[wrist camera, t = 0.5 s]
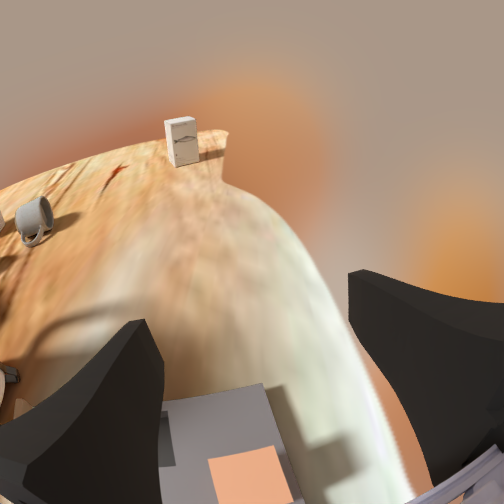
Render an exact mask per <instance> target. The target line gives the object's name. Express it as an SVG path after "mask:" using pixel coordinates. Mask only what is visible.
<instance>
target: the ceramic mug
mask: <svg viewBox="0 0 504 504" xmlns="http://www.w3.org/2000/svg"><path fill="white" fill-rule="evenodd" d="M53 224H54V218H53V212H52V209H51V206H50V203H49V201H48V200H47V198H46V197H44V196H41V197H39V198H37V199H35V200H33V201H31V202H29V203H27V204H24V205H22V206H21V207H20V208H18V209H17V211H16V213H15V225H16V228H17V230H18V232H19V234H20V235H21V240H22V242H23V244H24V245H25V246H27V247H33V246H35V245H37V244H38V243H39V242H40V240H41V239H42V236H43V233H44V232H45V231H48V230H51V229H52V227H53ZM35 234H38V235H37V236H36V238H35V239H34V240H33V241H32V242H29V243H28V242H27V243H26V242H25V237H30V236H33V235H35Z"/></svg>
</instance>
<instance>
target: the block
mask: <svg viewBox="0 0 504 504" xmlns="http://www.w3.org/2000/svg"><path fill="white" fill-rule="evenodd" d="M208 463H209V467H210V471H211V475H212V479H213V483H214V487H215V491H216V495H217V498H218V502H219V504H287V503H291V502H294V501H293V498H292V495H291V493H290V490H289V487H288V484H287V482H286V479H285V476H284V473H283V470H282V468H281V465H280V462H279V459H278V456H277V453H276V450H275V447H274V445H272V446H269V447H265V448H261V449H257V450H252V451H248V452H243V453H239V454H234V455H229V456H223V457H218V458H212V459H208Z"/></svg>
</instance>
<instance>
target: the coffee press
mask: <svg viewBox="0 0 504 504" xmlns="http://www.w3.org/2000/svg"><path fill="white" fill-rule="evenodd" d="M4 372H5V373H7V374H10V375H7V374H6V375H4ZM18 382H20V376H19V372H18V370H17V369H16V368H13V367H9V366H6V365H4V364H3V363H1V362H0V405H1V403H2V399H3V395H4V389H5V383H18Z"/></svg>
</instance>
